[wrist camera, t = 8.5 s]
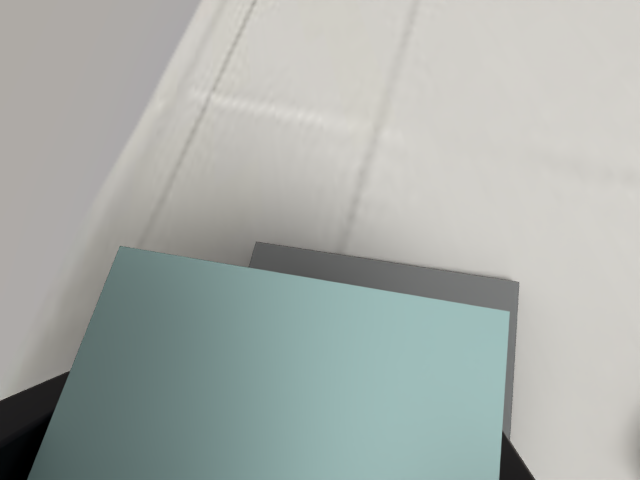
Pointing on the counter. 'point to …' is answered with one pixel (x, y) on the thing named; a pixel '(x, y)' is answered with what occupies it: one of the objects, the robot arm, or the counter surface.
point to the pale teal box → (275, 380)
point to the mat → (402, 287)
